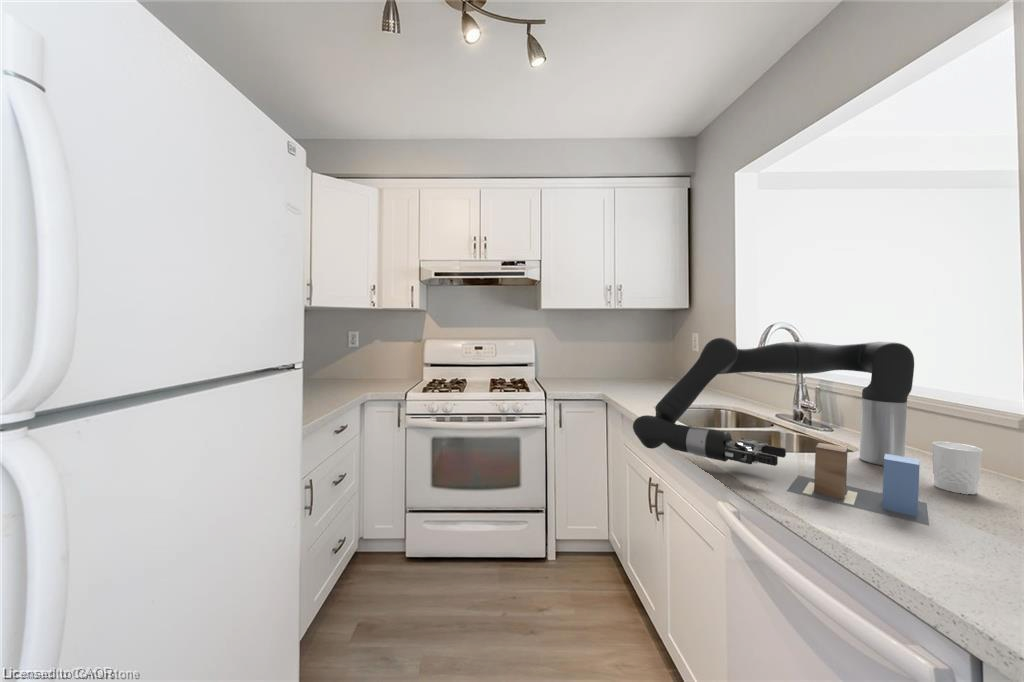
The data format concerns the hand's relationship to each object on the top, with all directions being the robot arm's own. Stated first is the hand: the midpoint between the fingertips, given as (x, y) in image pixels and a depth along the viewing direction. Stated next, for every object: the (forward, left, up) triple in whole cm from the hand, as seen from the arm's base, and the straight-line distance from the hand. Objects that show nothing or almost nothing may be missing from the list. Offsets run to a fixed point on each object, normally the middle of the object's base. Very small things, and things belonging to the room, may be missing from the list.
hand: (781, 456), depth 95 cm
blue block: (0, +20, -6) cm, 21 cm away
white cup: (-26, +29, -7) cm, 40 cm away
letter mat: (-1, +13, -6) cm, 15 cm away
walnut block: (0, +9, -6) cm, 11 cm away
